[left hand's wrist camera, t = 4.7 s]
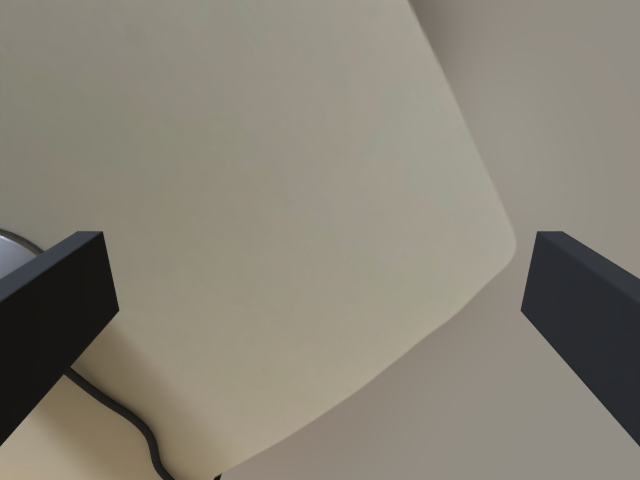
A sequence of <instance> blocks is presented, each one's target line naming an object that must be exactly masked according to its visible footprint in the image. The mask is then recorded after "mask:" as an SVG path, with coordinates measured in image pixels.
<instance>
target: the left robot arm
mask: <svg viewBox="0 0 640 480" xmlns="http://www.w3.org/2000/svg"><path fill="white" fill-rule="evenodd" d="M118 312H119V306H118V302H117V297H116V292H115V287H114V283H113V278H112V273H111V268H110V264H109V259H108V254H107V249H106V244H105V240H104V235H103V231H77V232H76V233H74V234H72V235H71V236H69V237H68V238H66V239H64V240H63V241H61V242H60V243H58V244H56V245H55V246H53V247H51V248H50V249H48V250H47V251H45V252H43V251H42V250H41V249H40V248H38V247H37V246H36V245H34V244H33V243H31V242H30V241H28V240H26V239H24V238H22V237H20V236H18V235H16V234H14V233H11V232H8V231H5V230H2V229H0V446H1V445H2V444H3V443H4V442H5V441H6V439H7V438H8V437H9V436H10V435H11V434H12V433H13V431H14V430H15V429H16V428H17V427H18V426H19V425H20V423H21V422H22V421H23V420H24V419H25V418H26V417H27V415H28V414H29V413H30V412H31V411H32V410H33V409H34V407H35V406H36V405H37V404H38V403H39V402H40V401H41V399H42V398H43V397H44V396H45V395H46V394H47V393H48V391H49V390H50V389H51V388H52V387H53V386H54V385H55V383H56V382H57V381H58V380H59V379H60V378H61V377H62V375H63V374H64V375H66V376H67V377H68V378H69V379H71V380H72V381H73V382H74V383H76V384H77V385H78V386H80V387H81V388H82V389H83V390H85V391H86V392H87V393H89V394H90V395H91V396H92V397H94V398H95V399H96V400H98V401H99V402H101V403H102V404H104V405H105V406H107V407H108V408H110V409H112V410H113V411H115V412H117V413H118V414H120V415H121V416H123V417H124V418H126V419H127V420H129V421H130V422H131V423H132V424H134V425H135V426H136V427H137V428H138V429H139V430H140V431H141V432H142V434H143V435H144V436H145V438H146V440H147V442H148V445H149V449H150V454H151V459H152V463H153V466H154V468H155V470H156V471H157V473H158V474H159V475H160V477H161V478H162V479H163V480H175V479H174V478H173V477H172V476H171V475H170V474H169V473H168V472H167V471H166V470H165V469H164V467H163V465H162V463H161V461H160V457H159V452H158V447H157V443H156V440H155V437H154V435H153V433H152V431H151V430H150V429H149V427H148V426H147V425H146V424H145V423H144V422H143V421H142V420H141V419H140V418H139V417H138V416H136V415H135V414H134V413H132V412H131V411H130V410H128V409H127V408H125V407H123V406H122V405H120V404H119V403H117V402H115V401H114V400H112V399H111V398H109V397H108V396H106V395H105V394H103V393H102V392H101V391H99V390H98V389H97V388H96V387H94V386H93V385H92V384H90V383H89V382H88V381H87V380H85V379H84V378H83V377H82V376H80V375H79V374H78V373H77V372H76V371H74V370H73V369H72V368H71V367H70V366H71V365H72V364H73V363H74V362H75V361H76V359H77V358H78V357H79V356H80V355H81V354H82V353H83V351H84V350H85V349H86V348H87V347H88V346H89V345H90V344H91V342H92V341H93V340H94V339H95V338H96V337H97V336H98V334H99V333H100V332H101V331H102V330H103V329H104V328H105V326H106V325H107V324H108V323H109V322H110V321H111V320H112V318H113V317H114V316H115V315H116V314H117V313H118ZM521 312H522V313H523V314H524V315H525V316H526V317H527V318H528V320H529V321H530V322H531V323H532V324H533V325H534V326H535V328H536V329H537V330H538V331H539V332H540V333H541V334H542V335H543V337H544V338H545V339H546V340H547V341H548V342H549V344H550V345H551V346H552V347H553V348H554V349H555V350H556V351H557V353H558V354H559V355H560V356H561V357H562V358H563V359H564V361H565V362H566V363H567V364H568V365H569V366H570V367H571V369H572V370H573V371H574V372H575V373H576V374H577V375H578V377H579V378H580V379H581V380H582V381H583V382H584V383H585V385H586V386H587V387H588V388H589V389H590V390H591V391H592V393H593V394H594V395H595V396H596V397H597V398H598V399H599V401H600V402H601V403H602V404H603V405H604V406H605V407H606V409H607V410H608V411H609V412H610V413H611V414H612V415H613V417H614V418H615V419H616V420H617V421H618V422H619V423H620V424H621V426H622V427H623V428H624V429H625V430H626V431H627V433H628V434H629V435H630V436H631V437H632V438H633V439H634V441H635V442H636V443H637V444H638V445H639V446H640V279H639V278H637V277H635V276H634V275H632V274H631V273H629V272H627V271H626V270H624V269H623V268H621V267H619V266H618V265H616V264H614V263H613V262H611V261H610V260H608V259H606V258H605V257H603V256H601V255H600V254H598V253H597V252H595V251H593V250H592V249H590V248H588V247H587V246H585V245H584V244H582V243H580V242H579V241H577V240H576V239H574V238H572V237H571V236H569V235H567V234H566V233H564V232H562V231H538V232H537V235H536V240H535V244H534V249H533V254H532V259H531V264H530V268H529V273H528V278H527V283H526V287H525V292H524V297H523V302H522V306H521ZM221 475H222V473H221V474H220V475H218V476H216V477H214V480H220V478H221Z"/></svg>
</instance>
